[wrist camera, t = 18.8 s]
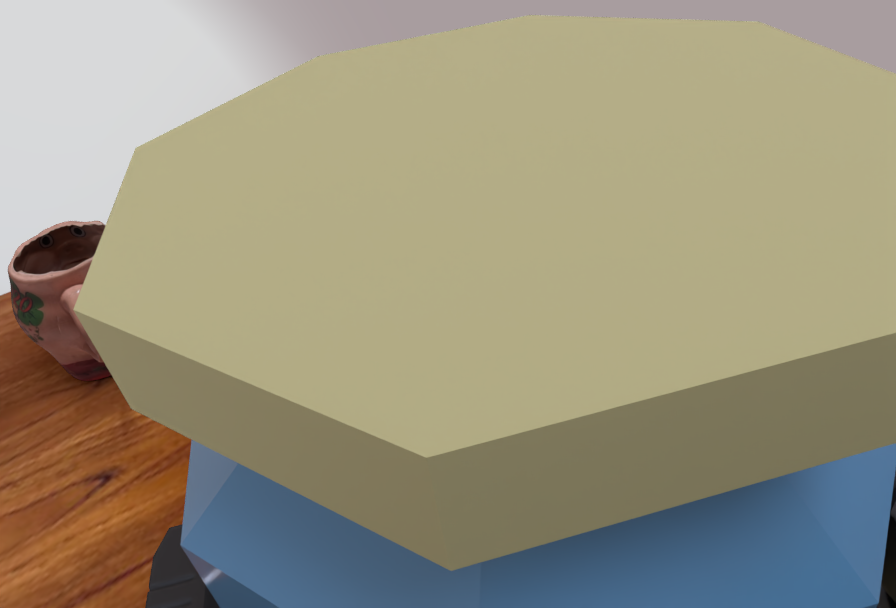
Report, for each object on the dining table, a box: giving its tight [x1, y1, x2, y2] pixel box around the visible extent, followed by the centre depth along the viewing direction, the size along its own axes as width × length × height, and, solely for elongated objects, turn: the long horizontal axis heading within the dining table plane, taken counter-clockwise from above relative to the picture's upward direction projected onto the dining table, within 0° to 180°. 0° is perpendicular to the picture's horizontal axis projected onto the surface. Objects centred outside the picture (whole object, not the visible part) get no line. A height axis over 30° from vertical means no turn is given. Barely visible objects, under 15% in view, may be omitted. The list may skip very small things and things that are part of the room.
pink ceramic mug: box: [8, 221, 111, 381], centre depth 67 cm, size 20×12×14 cm, turn 37°
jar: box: [73, 15, 896, 608], centre depth 11 cm, size 9×9×15 cm
